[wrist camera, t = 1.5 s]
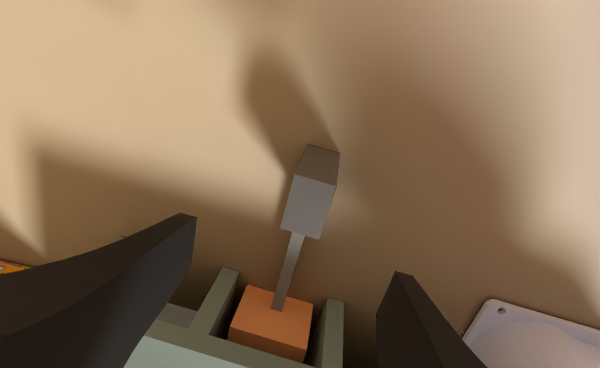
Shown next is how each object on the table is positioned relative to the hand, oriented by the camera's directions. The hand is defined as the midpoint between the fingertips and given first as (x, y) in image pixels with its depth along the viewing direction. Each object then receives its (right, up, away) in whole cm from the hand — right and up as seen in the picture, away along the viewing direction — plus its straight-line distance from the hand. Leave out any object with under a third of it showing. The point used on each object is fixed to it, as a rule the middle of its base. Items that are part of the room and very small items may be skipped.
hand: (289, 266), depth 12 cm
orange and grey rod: (0, -2, +11) cm, 12 cm away
